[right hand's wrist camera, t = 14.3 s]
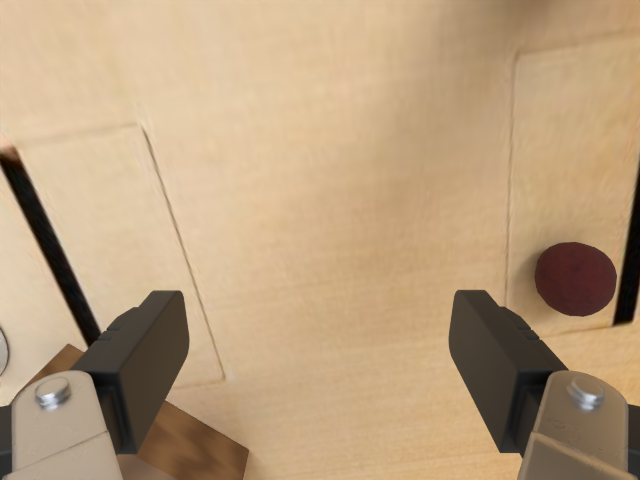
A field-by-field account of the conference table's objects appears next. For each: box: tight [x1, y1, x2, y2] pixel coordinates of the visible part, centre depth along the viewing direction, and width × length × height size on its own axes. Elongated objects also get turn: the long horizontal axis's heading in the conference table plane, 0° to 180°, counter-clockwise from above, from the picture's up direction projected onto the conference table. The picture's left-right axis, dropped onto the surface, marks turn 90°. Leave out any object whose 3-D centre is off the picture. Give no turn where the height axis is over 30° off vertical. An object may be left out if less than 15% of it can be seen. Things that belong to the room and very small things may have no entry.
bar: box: [10, 344, 249, 480], centre depth 47 cm, size 28×6×8 cm, turn 50°
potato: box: [535, 242, 617, 317], centre depth 40 cm, size 7×8×7 cm
